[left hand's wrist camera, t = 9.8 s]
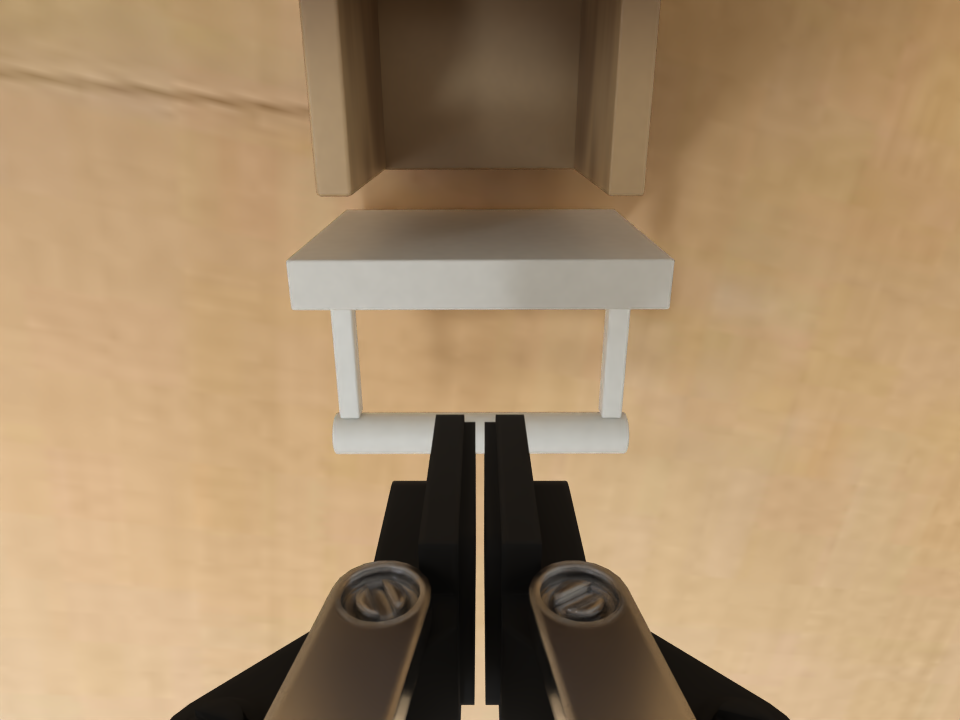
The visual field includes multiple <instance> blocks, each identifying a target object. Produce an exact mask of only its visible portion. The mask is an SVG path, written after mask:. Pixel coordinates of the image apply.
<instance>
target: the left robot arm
mask: <svg viewBox="0 0 960 720" xmlns="http://www.w3.org/2000/svg"><path fill="white" fill-rule="evenodd" d="M475 588H476V428H475V422H465V417H464V414H436V418H435V425H434V432H433V440H432V447H431V454H430V461H429V468H428V476H427V481H393V482H392V486H391V490H390V494H389V498H388V503H387V507H386V511H385V516H384V520H383V525H382V529H381V533H380V538H379V542H378V546H377V551H376V555H375V560H374V562H371V563H366V564H363V565H361V566H358V567H356V568H354V569H351V570H350V571H349V572H347V573H346V574H344V575H343V576H342V577H340V578H339V580H338V581H337V582H336V584H335V585H334V586H333V588H332V590H331V591H330V593H329V595H328V597H327V599H326V601H325V603H324V605H323V607H322V609H321V611H320V613H319V614H318V616H317V618H316V620H315V622H314V624H313V626H312V628H311V630H310V632H308V633H306V634H305V635H303V636H301V637H300V638H298V639H296V640H295V641H293V642H291V643H290V644H288V645H286V646H285V647H283V648H281V649H280V650H278V651H276V652H275V653H273V654H272V655H270V656H268V657H267V658H265V659H263V660H262V661H260V662H258V663H257V664H255V665H253V666H252V667H250V668H248V669H247V670H245V671H243V672H242V673H240V674H238V675H237V676H235V677H233V678H232V679H230V680H228V681H227V682H225V683H223V684H222V685H220V686H218V687H217V688H215V689H214V690H212V691H210V692H209V693H207V694H205V695H204V696H202V697H200V698H199V699H197V700H195V701H194V702H192V703H190V704H189V705H188V706H186V707H185V708H184V709H182V710H181V711H180V712H178V713H177V714H176V715H174V716H173V717H172V718H171V719H170V720H461V705H474V697H475ZM484 588H485V697H486V705H499V720H790V719H789V718H788V717H787V716H786V715H784V714H783V713H782V712H780V711H779V710H778V709H776V708H775V707H774V706H772V705H771V704H770V703H768V702H766V701H765V700H763V699H761V698H760V697H758V696H756V695H755V694H753V693H751V692H750V691H748V690H746V689H745V688H743V687H742V686H740V685H738V684H737V683H735V682H733V681H732V680H730V679H728V678H727V677H725V676H723V675H722V674H720V673H718V672H717V671H715V670H713V669H712V668H710V667H708V666H707V665H705V664H703V663H702V662H700V661H698V660H697V659H695V658H693V657H692V656H690V655H688V654H687V653H685V652H684V651H682V650H680V649H679V648H677V647H675V646H674V645H672V644H670V643H669V642H667V641H665V640H664V639H662V638H660V637H659V636H657V635H655V634H654V633H652V632H650V630H649V628H648V626H647V624H646V622H645V620H644V618H643V616H642V614H641V613H640V611H639V609H638V607H637V605H636V603H635V601H634V599H633V597H632V595H631V593H630V591H629V590H628V588H627V586H626V585H625V584H624V582H623V581H622V580H621V578H620V577H618V576H617V575H615V574H614V573H613V572H611V571H610V570H609V569H606V568H604V567H602V566H599V565H597V564H594V563H589V562H586V560H585V555H584V551H583V546H582V542H581V538H580V533H579V529H578V525H577V520H576V516H575V511H574V507H573V503H572V498H571V494H570V490H569V486H568V482H567V481H533V476H532V468H531V461H530V454H529V447H528V440H527V432H526V425H525V418H524V414H496V417H495V422H485V428H484Z"/></svg>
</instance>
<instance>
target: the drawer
mask: <svg viewBox="0 0 960 720" xmlns="http://www.w3.org/2000/svg"><path fill="white" fill-rule="evenodd" d="M660 3H661V0H299V6H300V17H301V28H302V39H303V50H304V61H305V72H306V83H307V94H308V105H309V116H310V127H311V138H312V148H313V159H314V170H315V181H316V192H317V194H318V195H319V196H350V195H352V194H353V193H355V192H356V191H357V190H359V189H360V188H361V187H362V186H364V185H365V184H366V183H368V182H369V181H370V180H372V179H373V178H374V177H376V176H377V175H378V174H380V173H381V172H382V171H383V170H395V169H575V170H577V171H578V172H579V173H580V174H582V175H583V176H584V177H586V178H587V179H588V180H590V181H591V182H592V183H594V184H595V185H596V186H598V187H599V188H600V189H601V190H603V191H604V192H605V193H607V194H608V195H610V196H642V195H643V194H644V188H645V176H646V165H647V153H648V142H649V130H650V118H651V107H652V95H653V84H654V72H655V61H656V49H657V38H658V26H659V14H660ZM286 265H287V274H288V283H289V292H290V301H291V308H292V310H331V322H332V333H333V344H334V355H335V366H336V378H337V389H338V400H339V411H340V413H337V414H336V415H335V418H334V422H333V432H332V438H333V447H334V451H335V453H337V454H431V447H432V440H433V432H434V425H435V418H436V414H464V417H465V422H475V428H476V454H484V428H485V422H495V417H496V414H524V418H525V425H526V432H527V440H528V447H529V454H564V453H626V451H627V449H628V444H629V425H628V419H627V416H626V414H625V413H624V412H622V403H623V391H624V379H625V368H626V356H627V344H628V332H629V320H630V309H669V307H670V298H671V289H672V280H673V270H674V259H673V258H672V257H671V256H669V255H668V254H667V253H666V252H665V251H663V250H662V249H661V248H660V247H659V246H657V245H656V244H655V243H654V242H653V241H651V240H650V239H649V238H648V237H647V236H645V235H644V234H643V233H642V232H641V231H639V230H638V229H637V228H636V227H635V226H634V225H632V224H631V223H630V222H629V221H628V220H626V219H625V218H624V217H623V216H622V215H620V214H619V213H618V212H617V211H616V210H614V209H473V210H346V211H344V212H343V213H342V214H341V215H340V216H339V217H337V218H336V219H335V220H334V221H333V222H331V223H330V224H329V225H328V226H327V227H326V228H324V229H323V230H322V231H321V232H320V233H318V234H317V235H316V236H315V237H314V238H313V239H311V240H310V241H309V242H308V243H307V244H305V245H304V246H303V247H302V248H301V249H300V250H298V251H297V252H296V253H295V254H294V255H292V256H291V257H290V258H289V259H288V260H287V261H286ZM540 309H606V310H605V324H604V338H603V353H602V367H601V381H600V395H599V411H600V412H425V413H362V410H363V405H362V392H361V379H360V365H359V352H358V339H357V325H356V312H355V310H540Z"/></svg>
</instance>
